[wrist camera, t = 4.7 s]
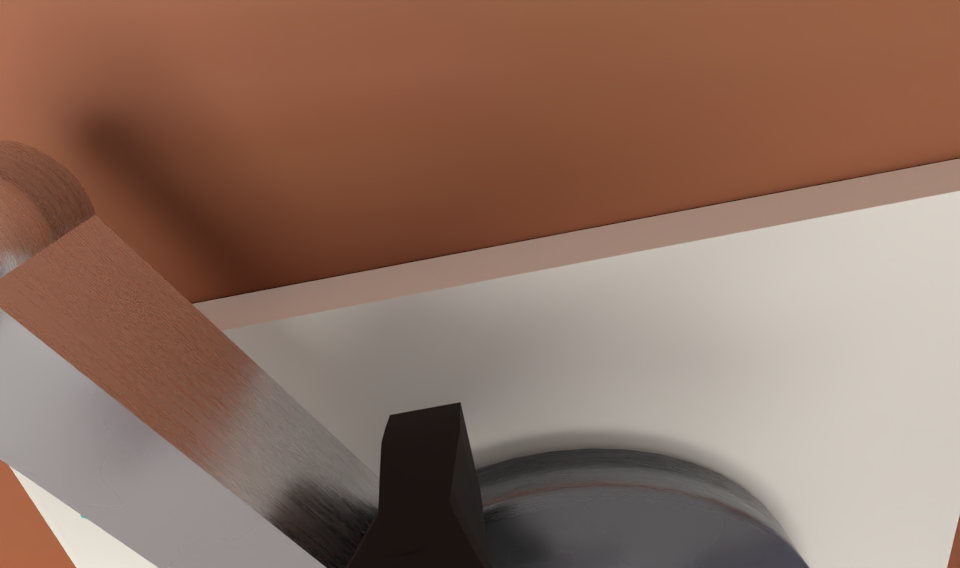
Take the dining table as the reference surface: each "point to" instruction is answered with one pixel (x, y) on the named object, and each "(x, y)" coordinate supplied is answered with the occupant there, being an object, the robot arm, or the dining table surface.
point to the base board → (662, 357)
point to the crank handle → (273, 430)
